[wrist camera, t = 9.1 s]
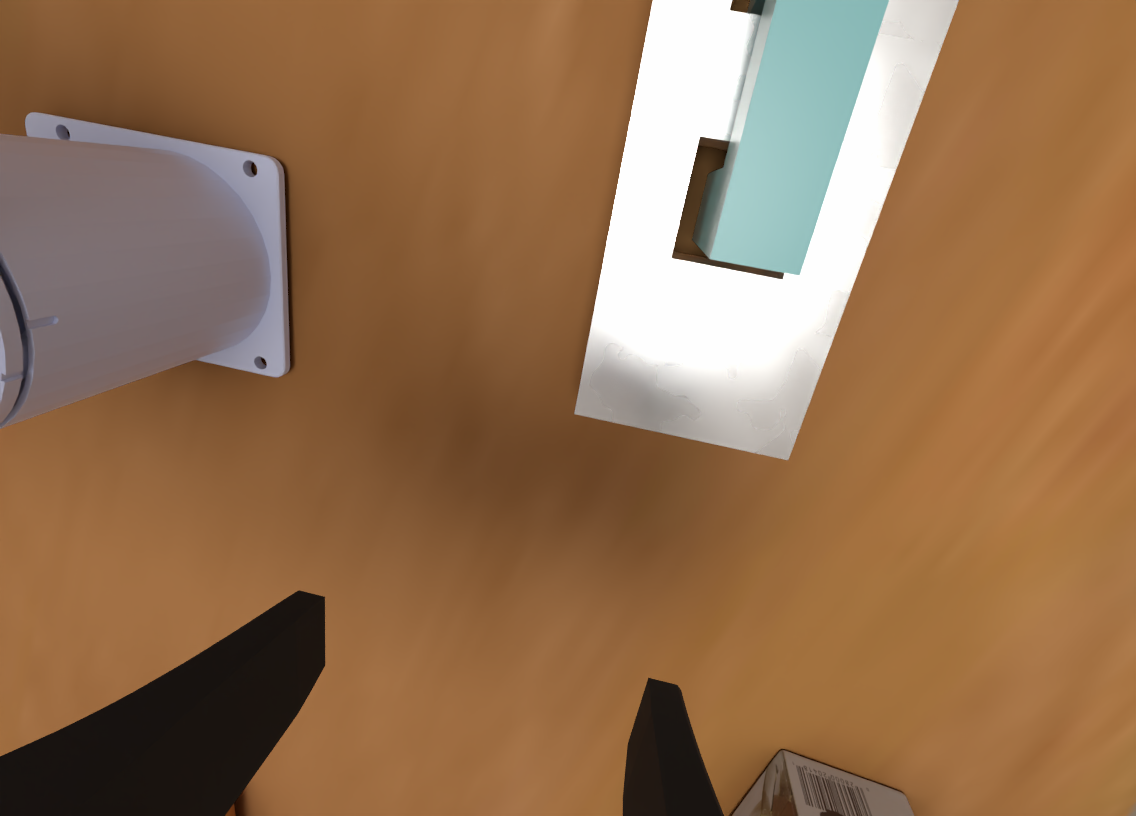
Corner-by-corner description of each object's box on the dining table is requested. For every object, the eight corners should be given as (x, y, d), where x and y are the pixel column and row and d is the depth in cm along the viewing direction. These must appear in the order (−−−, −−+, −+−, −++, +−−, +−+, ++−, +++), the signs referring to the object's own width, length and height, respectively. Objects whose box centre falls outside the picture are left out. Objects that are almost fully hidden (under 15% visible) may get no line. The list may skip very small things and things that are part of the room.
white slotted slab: (583, 389, 20) (574, 414, 18) (738, -413, 12) (758, -552, 10) (772, 429, 20) (788, 460, 17) (1055, -381, 12) (1151, -520, 10)
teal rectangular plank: (691, 239, 18) (709, 259, 12) (766, -66, 15) (835, -226, 9) (753, 250, 17) (799, 275, 12) (841, -55, 14) (957, -211, 9)
